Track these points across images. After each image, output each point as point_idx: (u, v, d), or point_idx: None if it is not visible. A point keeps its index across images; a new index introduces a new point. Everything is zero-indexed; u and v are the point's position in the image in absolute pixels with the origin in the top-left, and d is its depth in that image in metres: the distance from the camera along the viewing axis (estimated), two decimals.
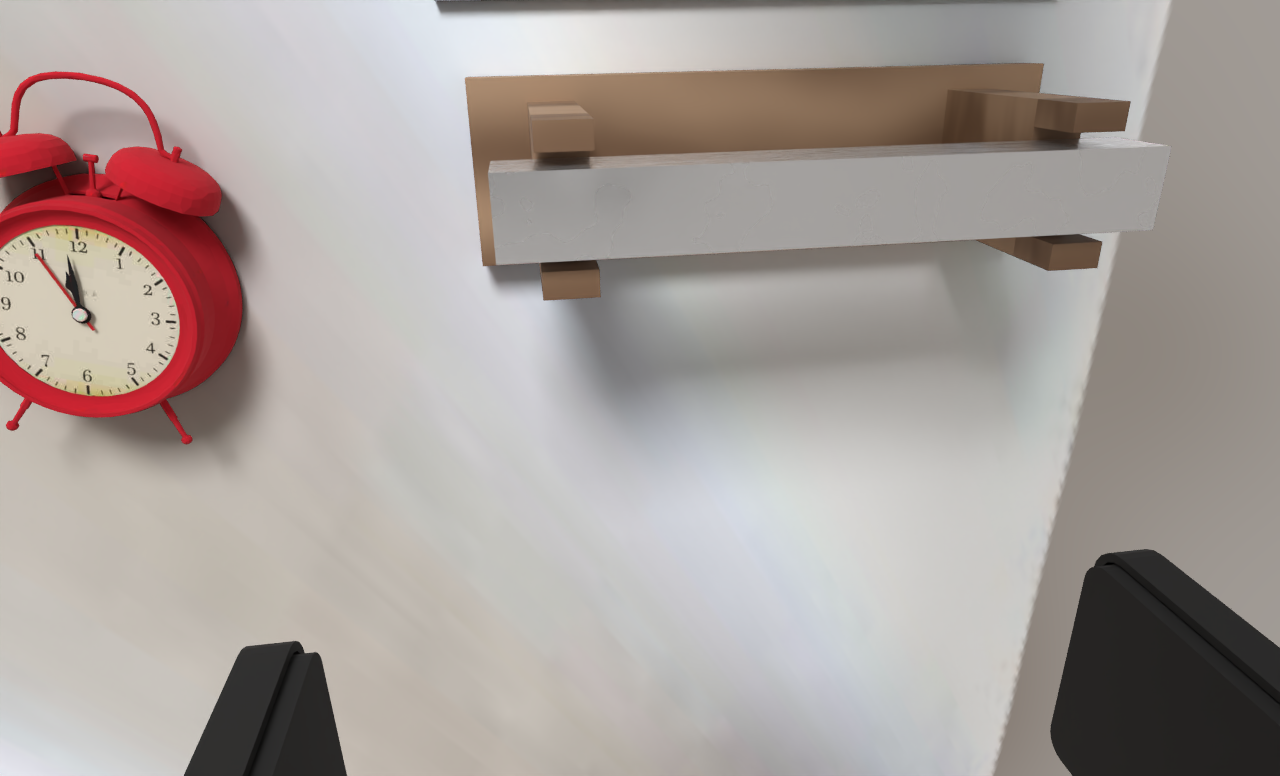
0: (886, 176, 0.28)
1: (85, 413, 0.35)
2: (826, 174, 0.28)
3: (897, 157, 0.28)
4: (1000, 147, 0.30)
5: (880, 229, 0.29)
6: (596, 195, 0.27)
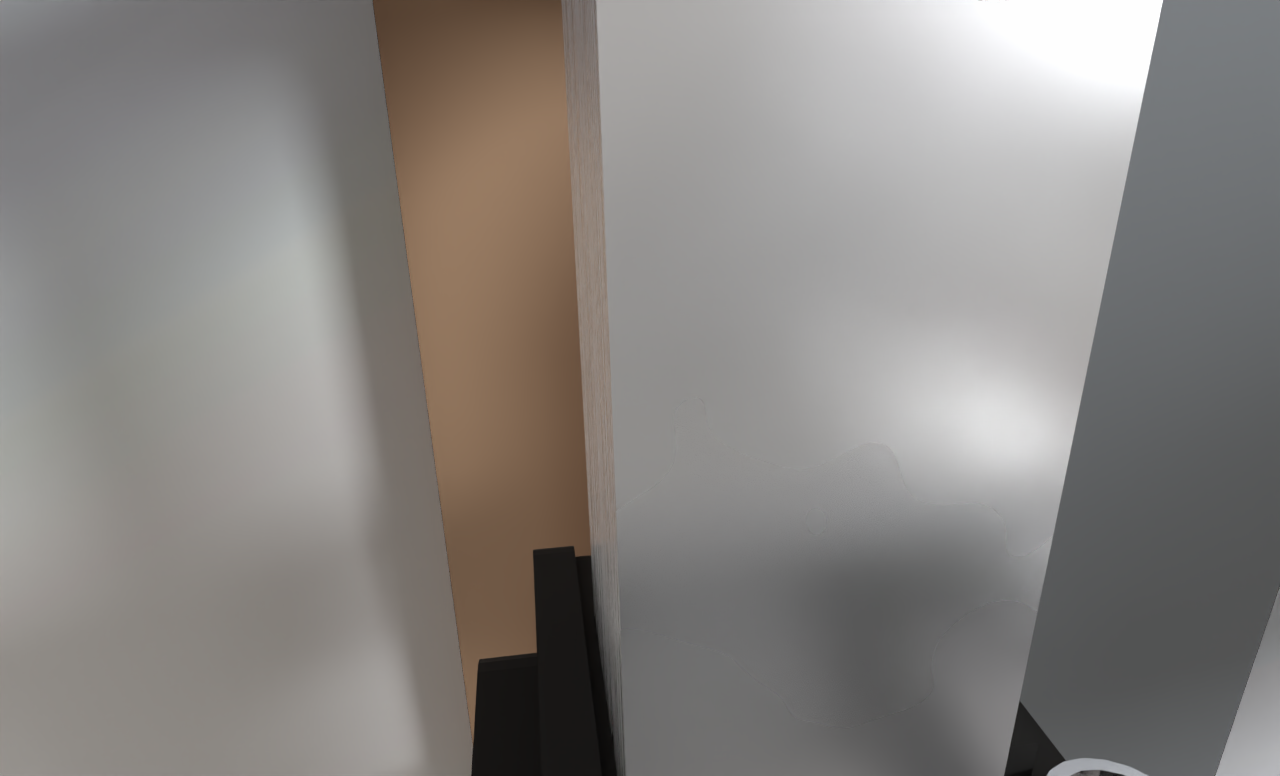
0: None
1: None
2: None
3: None
4: None
5: None
6: None
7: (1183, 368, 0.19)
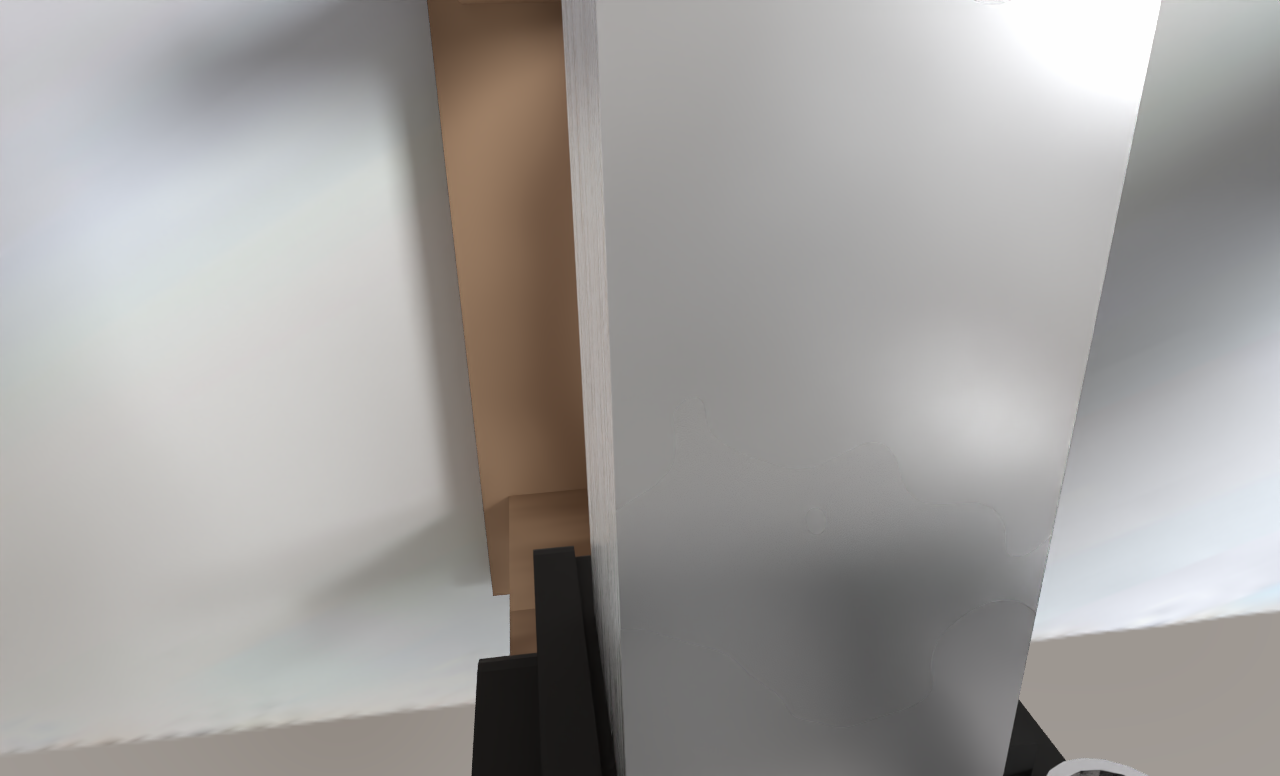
0: None
1: None
2: None
3: None
4: None
5: None
6: None
7: None
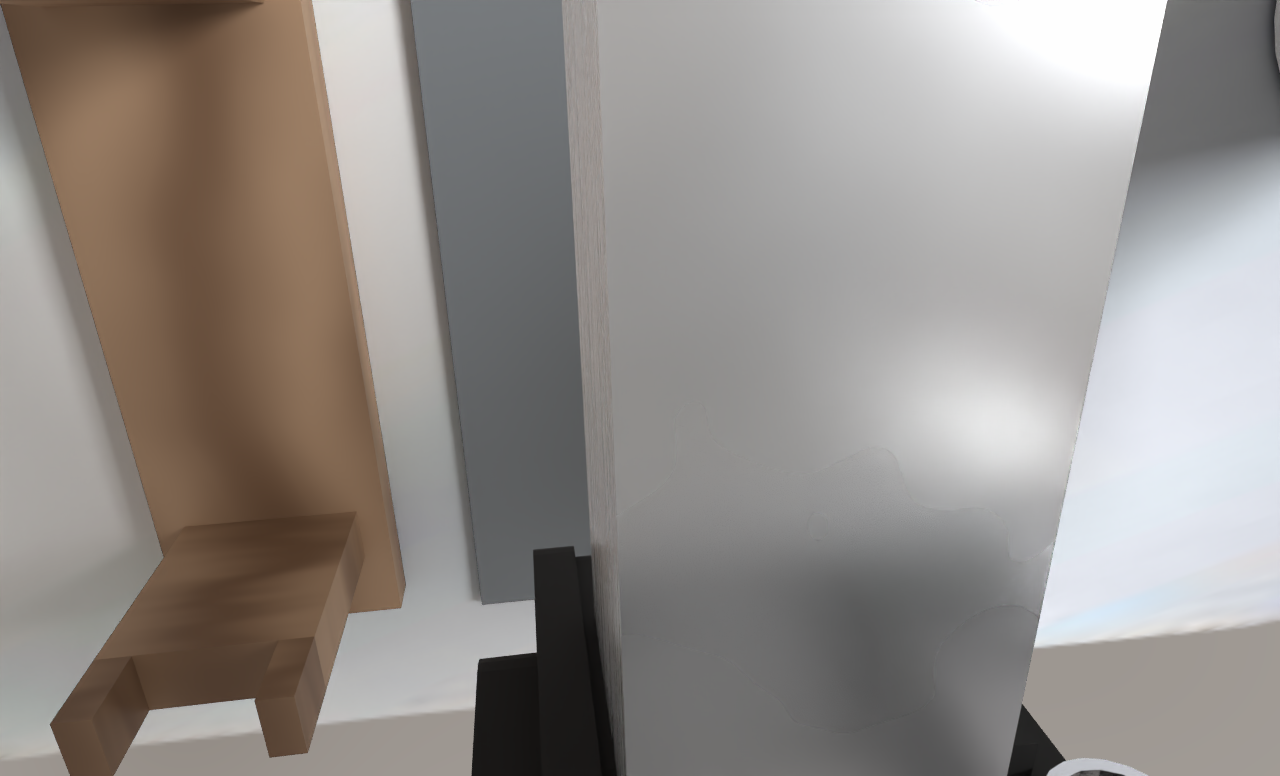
0: None
1: None
2: None
3: None
4: None
5: None
6: None
7: None
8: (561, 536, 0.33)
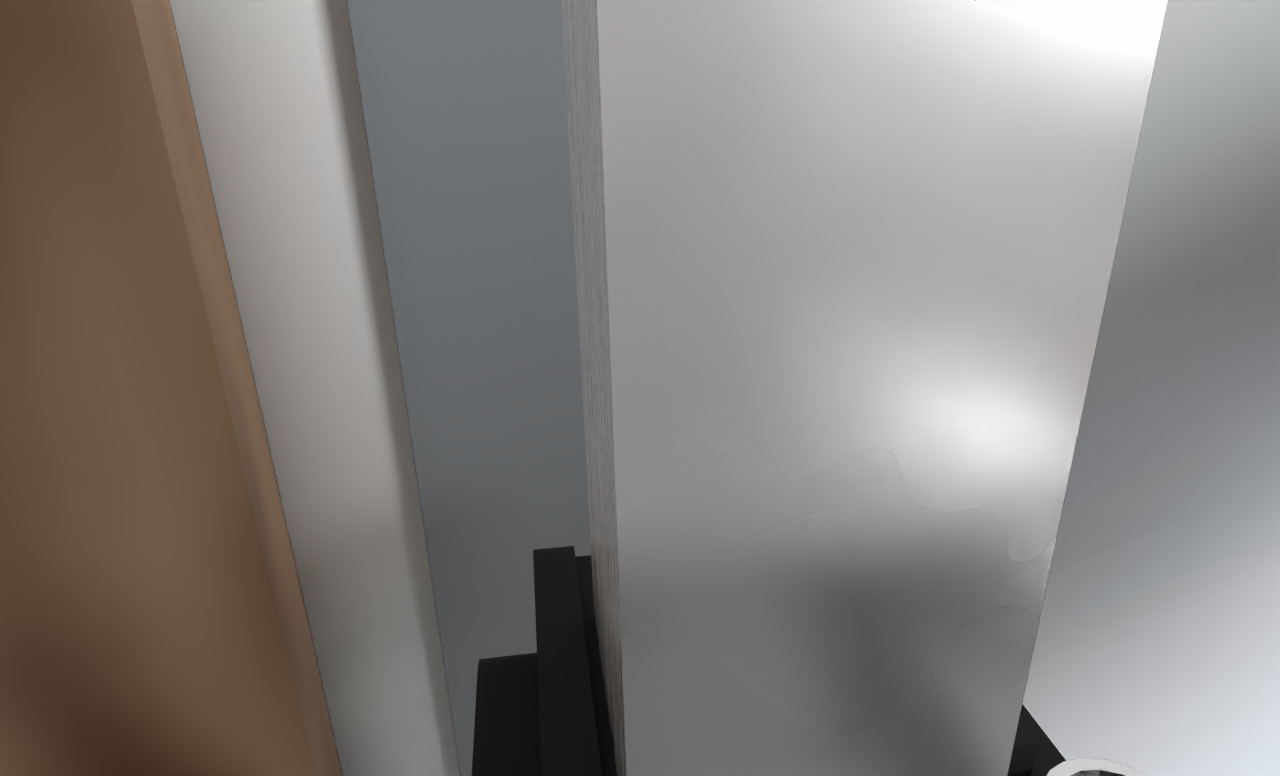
0: None
1: None
2: None
3: None
4: None
5: None
6: None
7: None
8: None
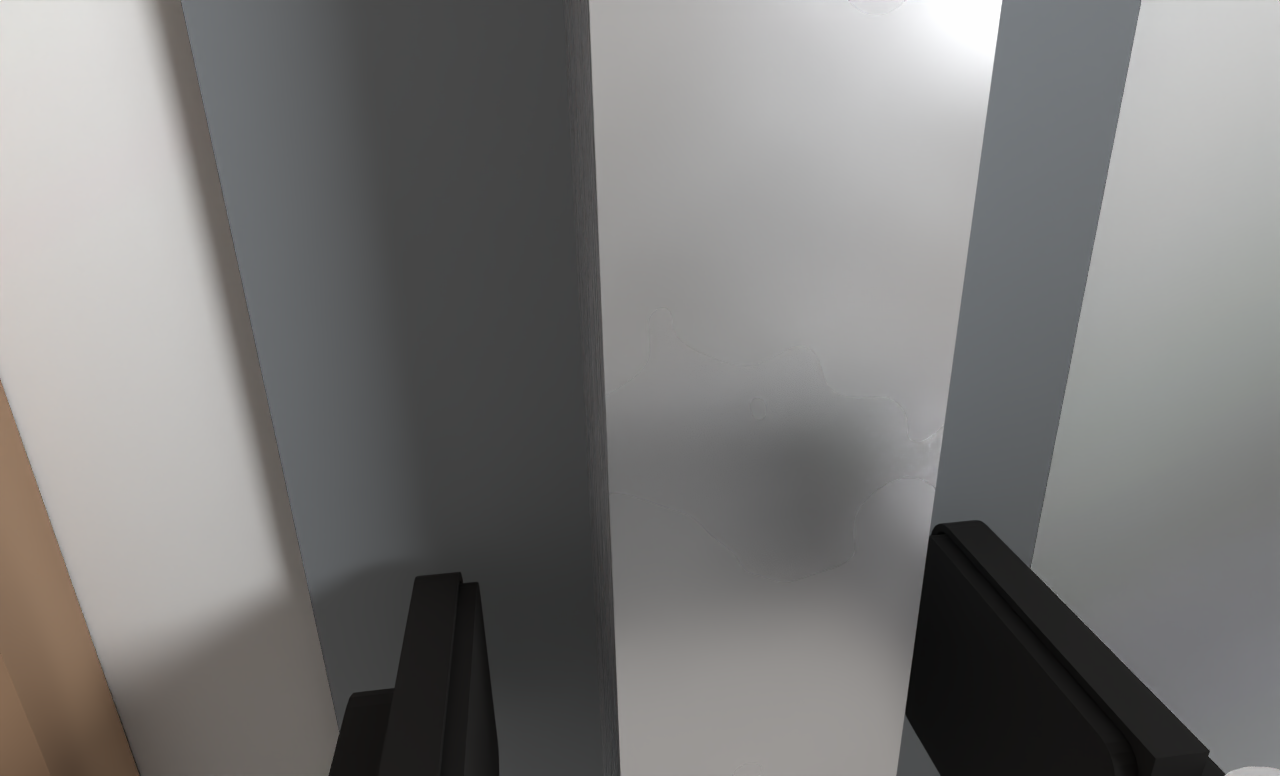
0: None
1: None
2: (858, 720, 0.09)
3: None
4: None
5: None
6: None
7: None
8: None
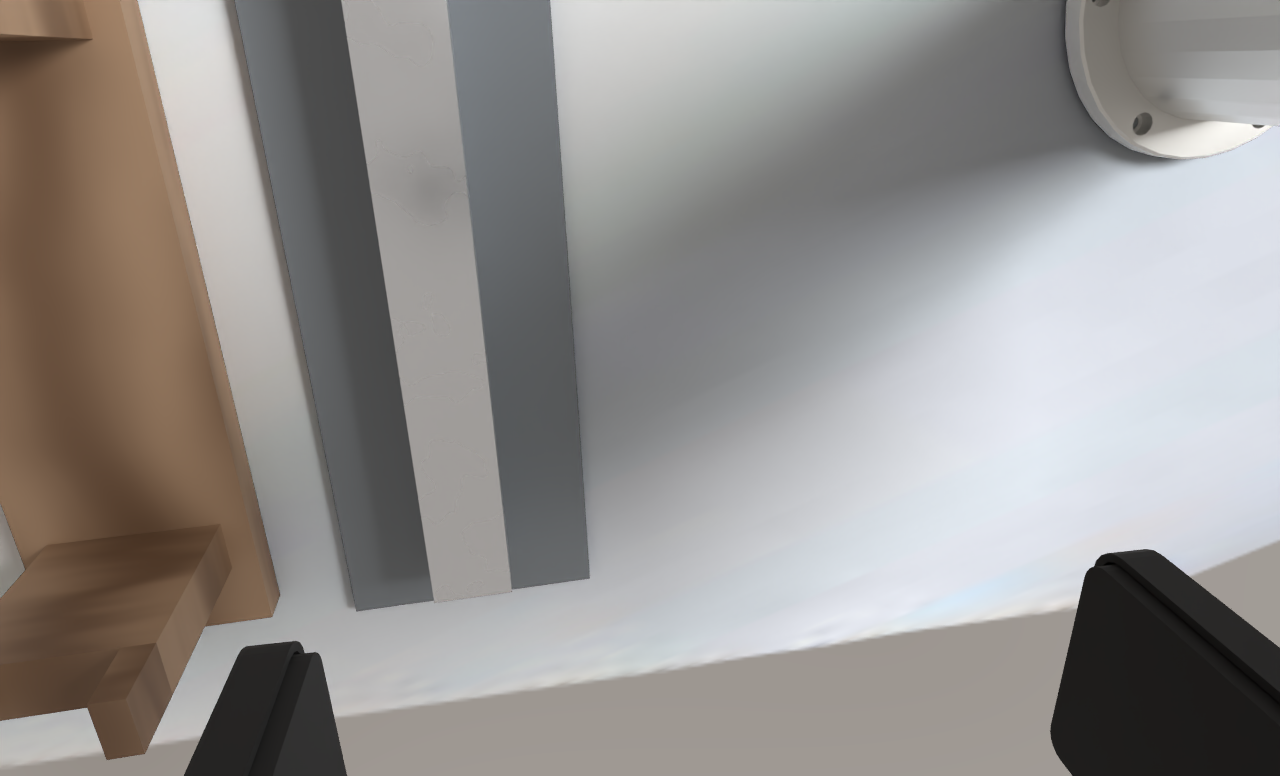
0: (464, 339, 0.28)
1: None
2: (461, 278, 0.28)
3: (483, 347, 0.29)
4: (496, 446, 0.31)
5: (410, 343, 0.28)
6: (419, 25, 0.25)
7: None
8: None
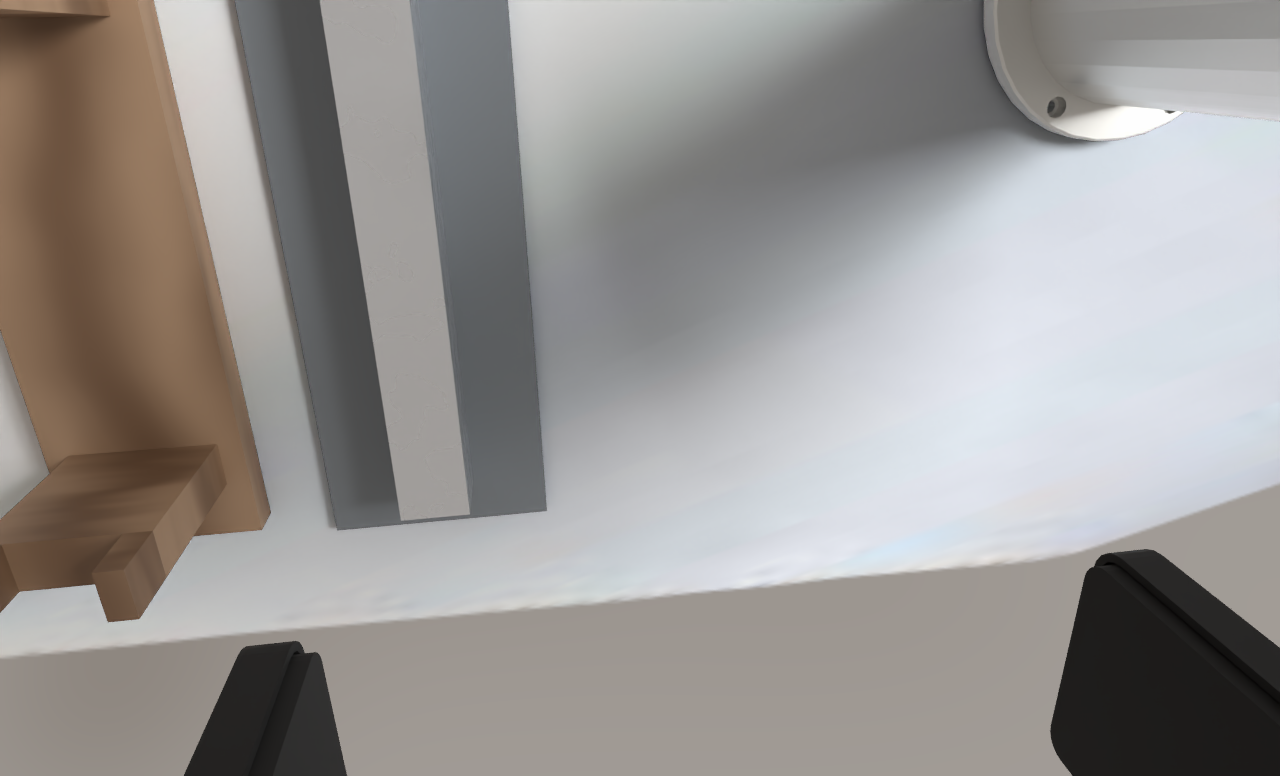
0: (425, 284, 0.32)
1: None
2: (423, 230, 0.32)
3: (443, 292, 0.33)
4: (457, 384, 0.36)
5: (378, 287, 0.32)
6: (385, 7, 0.28)
7: None
8: None
